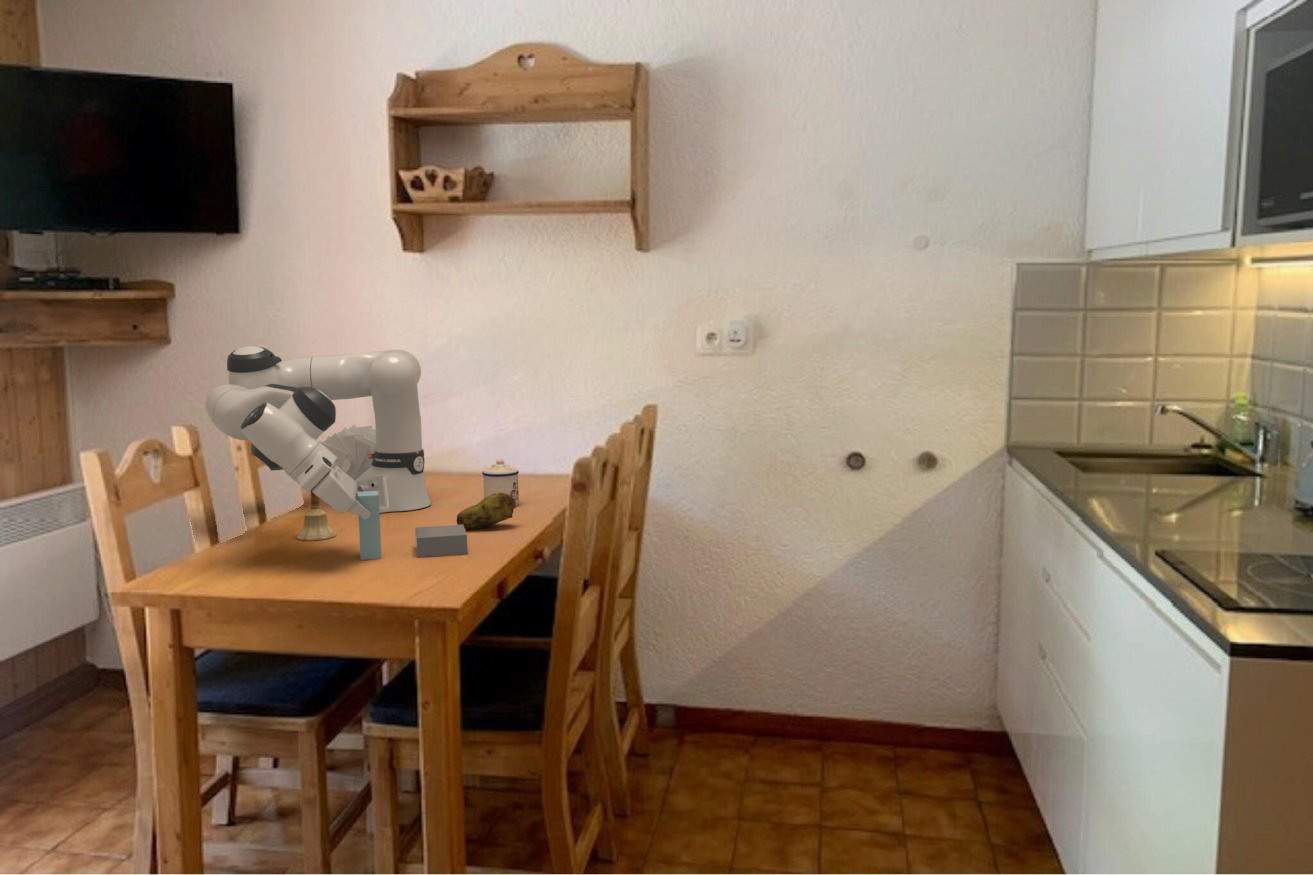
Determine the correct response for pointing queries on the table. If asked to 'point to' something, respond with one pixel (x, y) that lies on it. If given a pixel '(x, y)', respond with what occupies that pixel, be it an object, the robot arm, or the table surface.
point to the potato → (487, 511)
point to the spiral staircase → (353, 449)
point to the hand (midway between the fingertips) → (368, 513)
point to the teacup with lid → (501, 480)
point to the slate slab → (441, 540)
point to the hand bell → (315, 523)
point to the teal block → (370, 526)
